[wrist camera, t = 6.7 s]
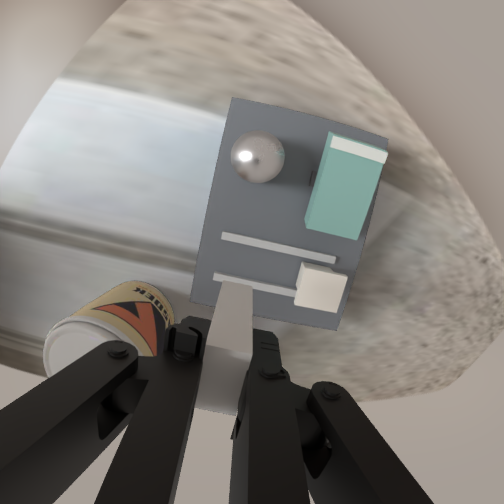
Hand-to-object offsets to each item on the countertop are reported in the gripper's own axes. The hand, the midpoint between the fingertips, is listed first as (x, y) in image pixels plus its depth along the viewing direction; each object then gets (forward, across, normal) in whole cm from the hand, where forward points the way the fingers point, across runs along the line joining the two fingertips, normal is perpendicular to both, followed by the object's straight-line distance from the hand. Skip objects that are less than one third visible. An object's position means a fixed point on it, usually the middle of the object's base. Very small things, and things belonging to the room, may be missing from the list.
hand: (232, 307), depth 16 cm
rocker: (+8, +6, +8) cm, 12 cm away
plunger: (+10, 0, +8) cm, 13 cm away
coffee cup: (+14, -9, -9) cm, 19 cm away
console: (+14, +3, +4) cm, 15 cm away
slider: (+10, +6, 0) cm, 11 cm away
